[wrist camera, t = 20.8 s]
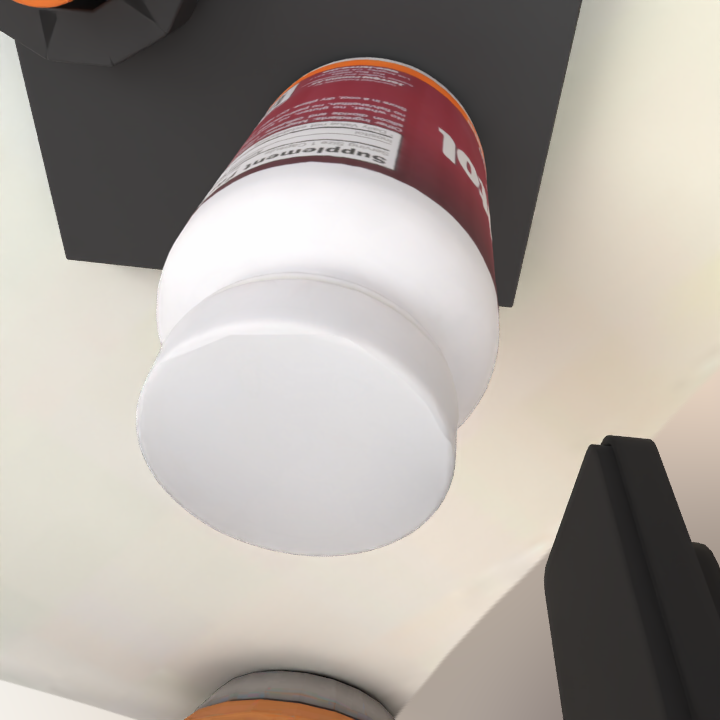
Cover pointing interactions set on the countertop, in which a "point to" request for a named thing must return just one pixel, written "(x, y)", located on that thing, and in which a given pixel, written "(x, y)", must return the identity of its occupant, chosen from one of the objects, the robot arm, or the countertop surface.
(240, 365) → the pill bottle
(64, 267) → the countertop surface
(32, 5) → the power button
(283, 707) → the pie
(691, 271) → the countertop surface
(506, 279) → the scale
